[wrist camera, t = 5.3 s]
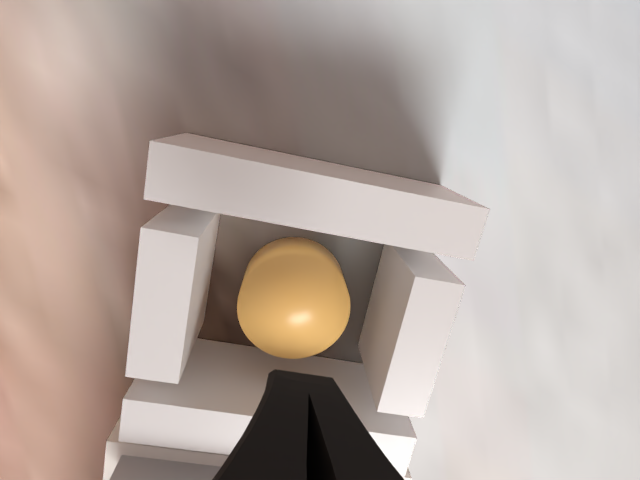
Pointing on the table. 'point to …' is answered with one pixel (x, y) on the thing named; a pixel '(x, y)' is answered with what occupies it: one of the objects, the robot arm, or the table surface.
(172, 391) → the button guard
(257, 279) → the button
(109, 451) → the box
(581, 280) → the table surface
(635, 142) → the table surface
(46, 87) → the table surface
